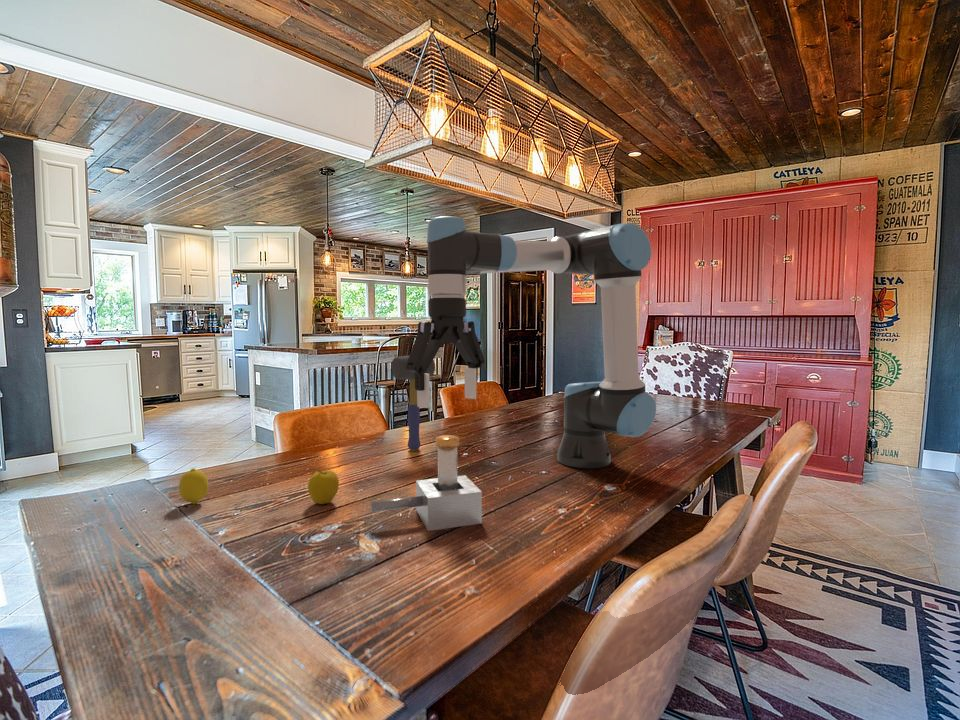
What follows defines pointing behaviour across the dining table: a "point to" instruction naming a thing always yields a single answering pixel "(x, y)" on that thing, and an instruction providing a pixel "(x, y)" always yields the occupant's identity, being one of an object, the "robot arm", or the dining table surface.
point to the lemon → (193, 486)
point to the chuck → (440, 504)
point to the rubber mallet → (413, 410)
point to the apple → (323, 486)
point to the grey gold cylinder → (447, 462)
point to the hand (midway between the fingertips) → (448, 402)
